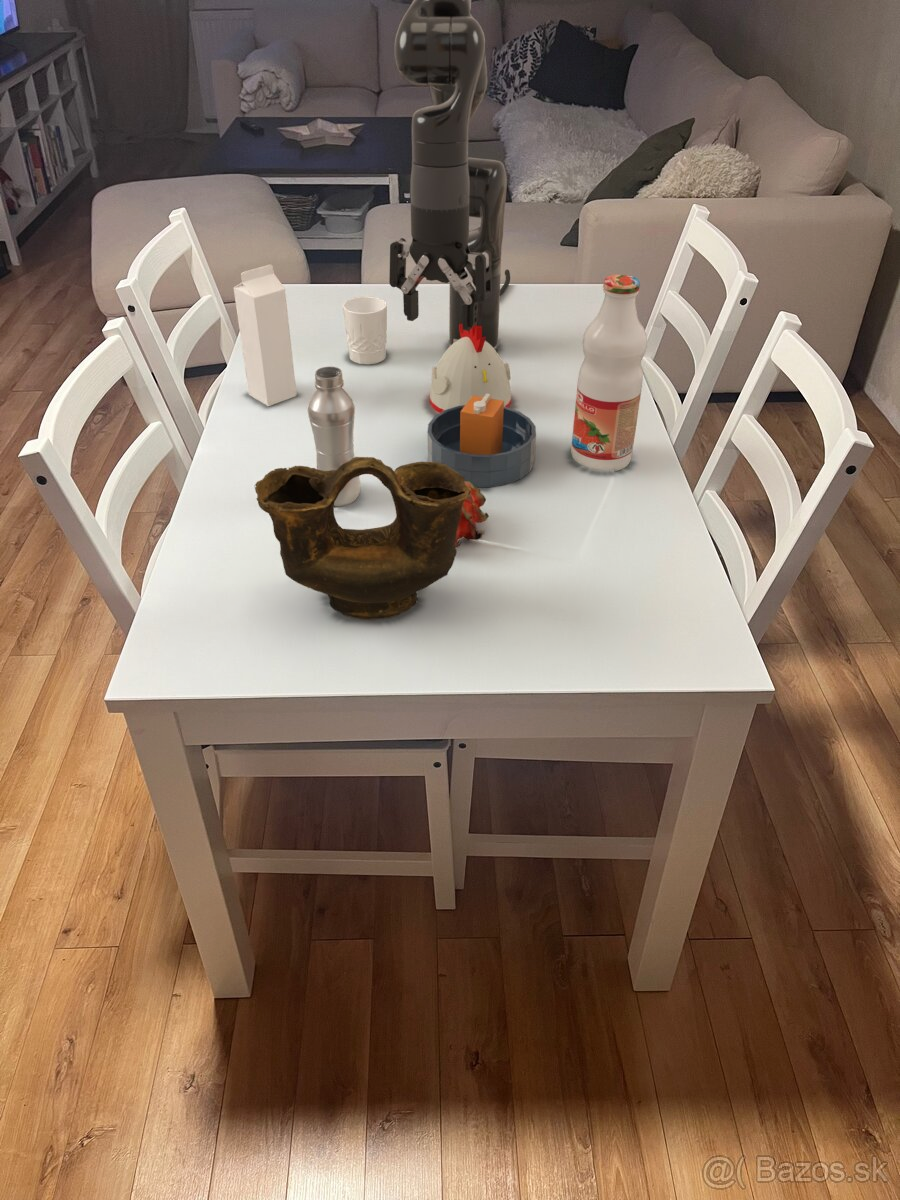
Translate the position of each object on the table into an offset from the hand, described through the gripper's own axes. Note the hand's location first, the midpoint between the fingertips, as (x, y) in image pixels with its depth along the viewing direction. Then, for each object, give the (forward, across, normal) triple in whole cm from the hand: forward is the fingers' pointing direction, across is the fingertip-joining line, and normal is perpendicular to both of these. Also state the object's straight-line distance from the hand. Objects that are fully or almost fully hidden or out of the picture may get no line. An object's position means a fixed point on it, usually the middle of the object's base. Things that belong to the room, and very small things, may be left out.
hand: (440, 324), depth 129 cm
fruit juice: (+23, -21, -14) cm, 34 cm away
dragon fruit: (+24, -10, +15) cm, 30 cm away
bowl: (+23, -5, -5) cm, 24 cm away
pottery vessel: (+24, -6, +31) cm, 40 cm away
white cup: (+22, +30, -30) cm, 48 cm away
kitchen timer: (+22, +5, -22) cm, 32 cm away
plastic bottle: (+24, +10, +14) cm, 29 cm away
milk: (+22, +37, -9) cm, 44 cm away
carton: (+22, -5, -5) cm, 23 cm away
